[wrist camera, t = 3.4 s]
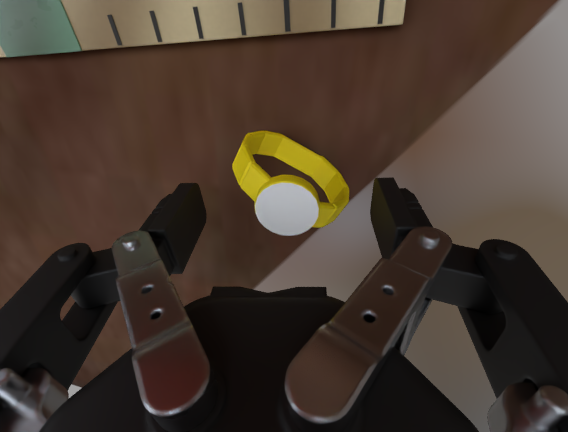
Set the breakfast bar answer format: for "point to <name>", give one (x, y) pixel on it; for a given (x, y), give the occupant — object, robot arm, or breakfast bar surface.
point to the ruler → (174, 21)
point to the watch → (289, 185)
